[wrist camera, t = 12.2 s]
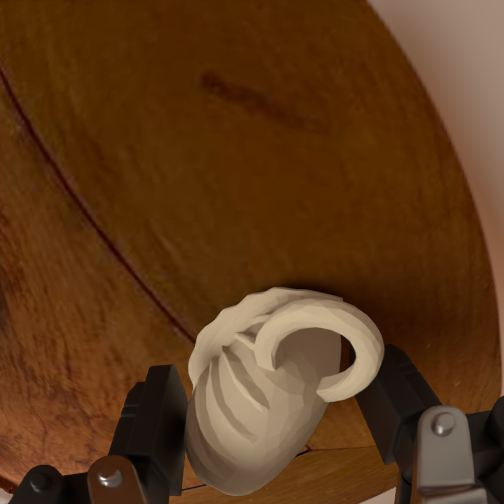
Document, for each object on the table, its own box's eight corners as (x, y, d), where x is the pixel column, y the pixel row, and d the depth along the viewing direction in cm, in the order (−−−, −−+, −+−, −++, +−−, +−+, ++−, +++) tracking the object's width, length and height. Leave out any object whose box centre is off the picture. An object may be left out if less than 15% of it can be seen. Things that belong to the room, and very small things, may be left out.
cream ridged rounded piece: (168, 399, 11) (149, 512, 6) (261, 210, 9) (297, 292, 4) (258, 425, 12) (270, 531, 7) (370, 263, 10) (464, 358, 5)
